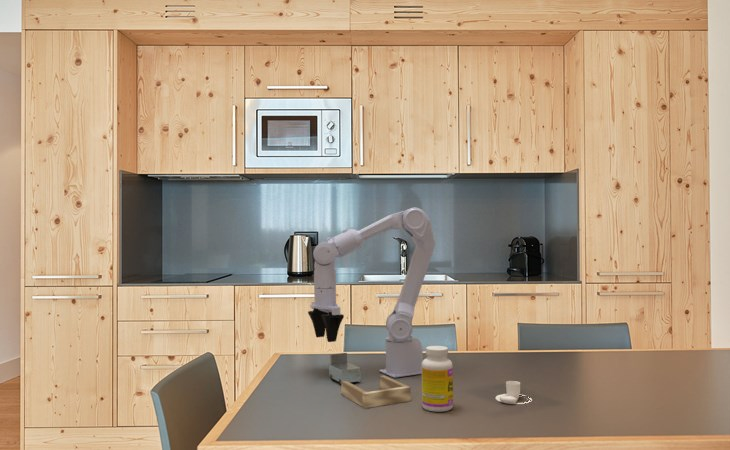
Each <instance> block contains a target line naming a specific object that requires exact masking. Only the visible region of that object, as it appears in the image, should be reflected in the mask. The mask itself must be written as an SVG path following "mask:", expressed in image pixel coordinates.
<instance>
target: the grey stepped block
mask: <svg viewBox="0 0 730 450" xmlns="http://www.w3.org/2000/svg"><path fill="white" fill-rule="evenodd" d="M329 358H330V359H329V362H330V363H328V377H329V379H330V380H332V381H333V380H335V381H337V382H338V383H339V384H340V385H341V381H347V382H349V383H355V384H357V383H359V382H361V381H362V375H361V374H362V371H361V370H362V368H361V367H359V366H357V365H356V364H353V363H351V362H348V352H342V353H341V352H340V353H333V354H332V353H331V354H329Z"/></svg>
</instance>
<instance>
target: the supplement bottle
mask: <svg viewBox="0 0 730 450" xmlns="http://www.w3.org/2000/svg"><path fill="white" fill-rule="evenodd" d="M425 354H426V358H424V359H423V362H422V374H421V407H422V408H423V409H424V410H426V411H428V412H438V413H440V412H441V413H442V412H449V411H451V410H452V409H453V407H454V376H453V375H454V367H453V366H454V365H453V362H452V361H451V360H450V359H449V358H448V354H449V347H447V346H444V345H429V346H426V347H425Z"/></svg>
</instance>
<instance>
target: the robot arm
mask: <svg viewBox="0 0 730 450" xmlns="http://www.w3.org/2000/svg"><path fill="white" fill-rule="evenodd" d="M390 230H404V231H405V232H407V234H408V235H409V236H410V238H411V240H412V241H413V243H414V245H415V247H414V251H413V254H412V257H411V259H410V262H409V264H408V265H409V266H408V269H407V272H406V275H405V278H404V281H403V284H402V287H401V290H400V293H399V295H398V296H399V297H398V299H397V301H396V304H395V305H394V308H393V310H392V311H391V313H390V314H389V315H388V316H387V318H386V320H385V327H386V329H387V331H388V334H387V335H386V336H385V368H384V369H383V368H382V369H379V372H380V373H383V374H384V375H386V376H387V375H388V377H390V378H400V377H409V376H414V375H415V376H416V375H422V362H423V360H424V359H423V358H424V357H423V355H424V354H423V353H424V351H423V346H422V343H421V340H420V339H418V338H416V337H415V338H413V335H412V333H413V319H414V314H415V307H416V304H417V301H418V298H419V294H420V292H421V288H422V286H423V283H424V280H425V276H426V273H427V271H428V267H429V266H430V261H431V260H432V259H431V258H432V256H433V253H434V249H435V247H436V241H435V237H434V233H433V229H432V223H431V219H430V218H429V217H428V215H427V214H426V212H425V211H424V210H423V209H421V208H419V207H411V208H408V209H405V210H402V211H399V212H398V211H397V212H395V213H392V214H389V215H386V216H384V217H383V218H381V219H379V220H376V221H375V222H373V223H371V224H370V225H367V226H365V227H363V228H362V229H359V230H357V229H354V228H350V229H348V228H345V229H343V230H342V233H339V234H337V235H336V236H333V237H327V238H326V241H322V242H320V243H318V244H317V245H316V246H315V248H314V249H313V258H314V260H315V261H314V263H313V264H314V266H313V267H314V268H313V269H314V270H313V283H314V284H313V288H314V289H313V290H314V291H313V293H314V301H311V304H310V309H311V310H308V311H307V314H308V315H309V317H310V319H311V323H312V327H313V329H314V333H315V337H316V338H324V337H325V336H326V340H327V342H328V343H334V342H337V338H338V335H339V334H338V333H339V330H340V329H339V328H340V325H341V323H342V321H343V320H344V316H345V314H342V313H341V307H340V306H339V305H338V304H337V280H336V279H337V278H336V276H337V275H336V269H335V259H336V258H338V259H339V258H340V259H341V258H343V257H345V256H347V255H349V254H351V253H353V252H355V251H357V250H359V249H361V248H362V246H363V243H364V241H367V240H368V239H369V240H370V238H373V237H376V236H379V235H380V234H382V233H385V232H387V231H390ZM325 334H326V335H325Z"/></svg>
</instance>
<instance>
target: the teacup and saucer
mask: <svg viewBox="0 0 730 450" xmlns="http://www.w3.org/2000/svg"><path fill="white" fill-rule="evenodd" d="M505 387H506V388H505V390H506V393H503V394H498V395H496V396H495V398H494V399H495V400H496V401H498V402H500V403H502V404H503V403H504V404H508V405H509V404H510V405H525V403H526V404H530V403H532V402H533V399H532V398H531V397H530V396H528V398H529V397H530V398H529V399H530V400H531V401H530V400H529V401H528V402H526V401H524V403H523V402H518V400H519V398H520V396H519V395H522V396H526V395H524V394H521V382H520V381H515V380H508V381H505ZM522 396H521V397H522ZM529 402H530V403H529Z"/></svg>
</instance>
